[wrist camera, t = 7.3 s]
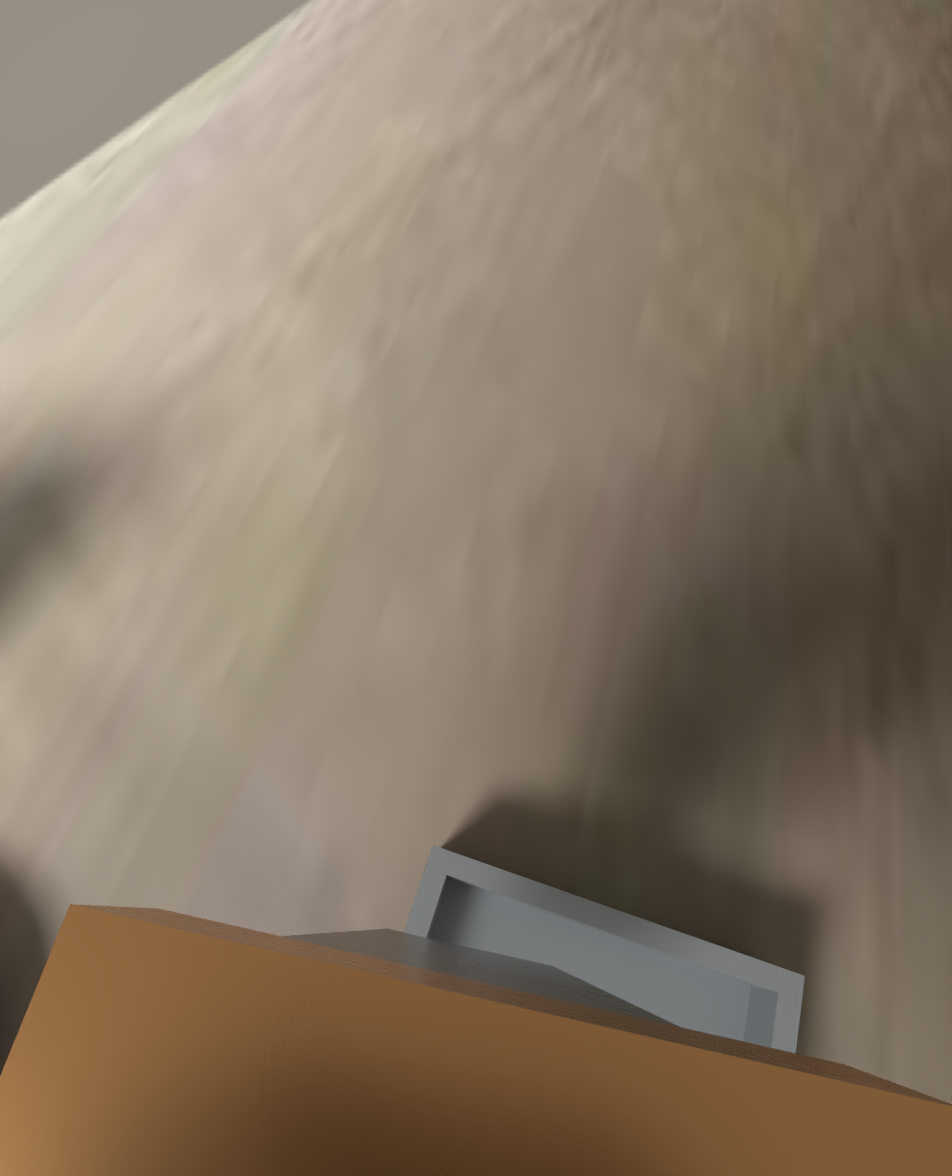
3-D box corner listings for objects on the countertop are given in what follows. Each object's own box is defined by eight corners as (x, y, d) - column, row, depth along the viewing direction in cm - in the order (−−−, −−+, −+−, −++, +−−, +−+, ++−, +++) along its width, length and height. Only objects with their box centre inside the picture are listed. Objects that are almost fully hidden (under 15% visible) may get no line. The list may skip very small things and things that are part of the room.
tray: (702, 1437, 17) (739, 1521, 14) (300, 1262, 18) (276, 1314, 16) (767, 968, 21) (804, 976, 18) (436, 851, 22) (433, 845, 20)
